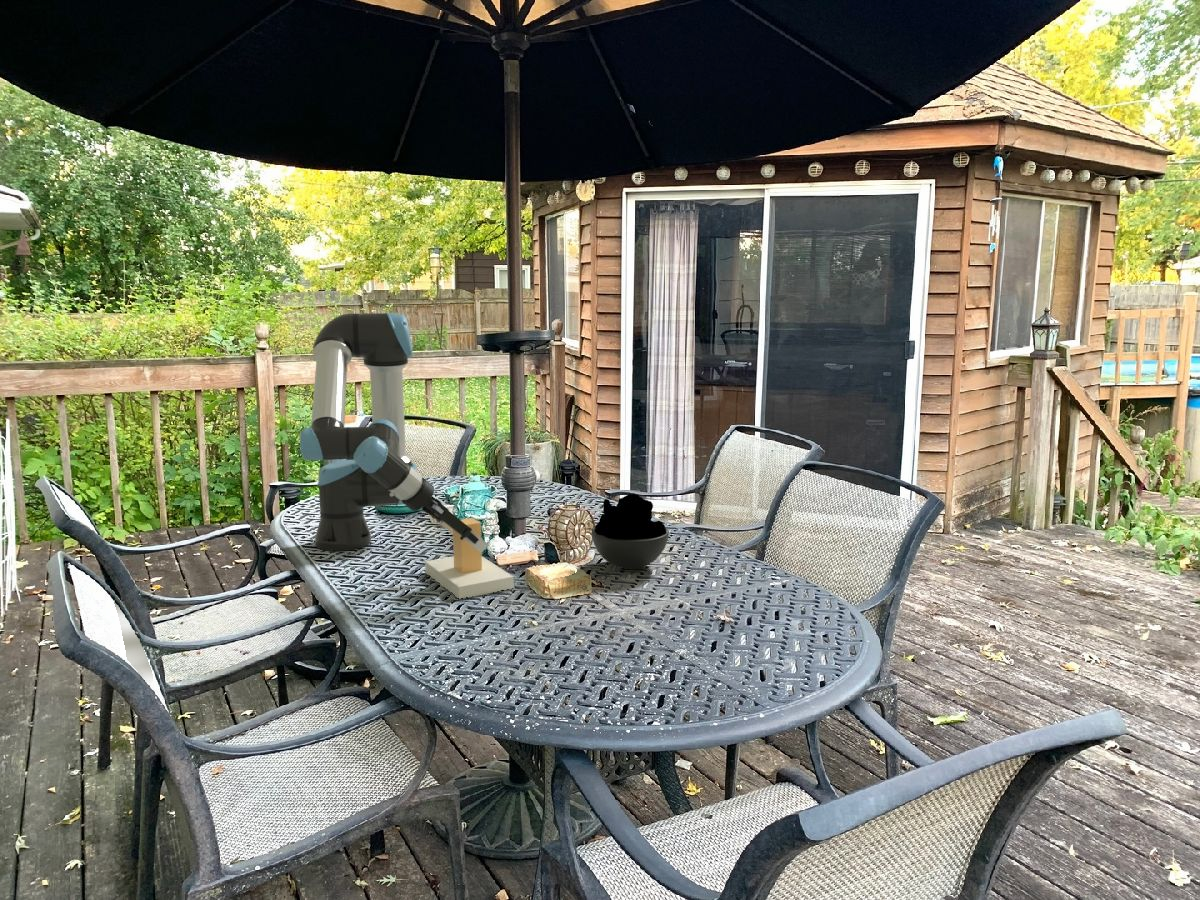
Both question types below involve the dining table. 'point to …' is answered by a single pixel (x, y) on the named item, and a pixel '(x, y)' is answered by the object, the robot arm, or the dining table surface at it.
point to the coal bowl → (629, 533)
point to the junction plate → (469, 578)
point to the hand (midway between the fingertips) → (472, 541)
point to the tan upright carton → (467, 549)
